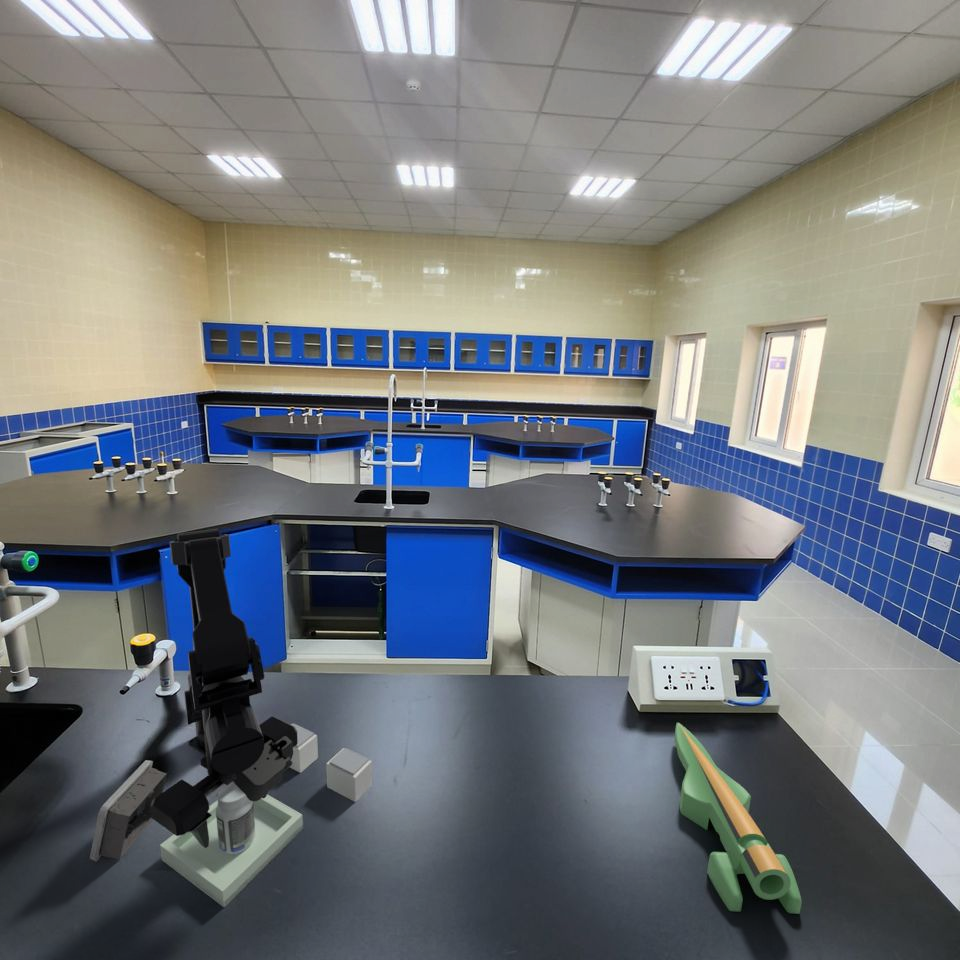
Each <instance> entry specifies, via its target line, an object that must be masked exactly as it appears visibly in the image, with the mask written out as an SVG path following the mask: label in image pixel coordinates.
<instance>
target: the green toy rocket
mask: <svg viewBox="0 0 960 960" xmlns="http://www.w3.org/2000/svg"><path fill="white" fill-rule="evenodd" d="M674 731H675V732H674V745H675V746H674V747H675V748H676V750H677V756H678V758H679V760H680V762H681V764H682V766H683V768H684V770H685V775H684V778H683V780H682V784H681V791H680V798H679V812H680V815H683V816H684V817H685V818H688V819H689V820H690V821H692V822H693V823H695V824H697V825H698V826H700V827H701V828H703V829H704V830H705V831H707V830H708V829H709V828H708V827H709V820H710V821H711V824H712V826H713V828H714V830H715V832H716V833H717V834H718V835H719V840H720V842H721V844H722V846H723V848H724V850H725V851H726V852H725V851H712V852H711V853H710V854H709V858H708V859H709V860H708V864H707V871H706V872H707V875H708V877H709V879H710V881H711V883H712V886H713V887H714V889H715V890H716V892H717V893H718V895H719V897H720V898H721V900H722V902H723V904H724V905H725V906H726V908H727V909H728V911H729V912H741V911H742V907H743V901H744V900H743V899H744V898H743V893H742V890H741V886H740V883H739V879H738V875H739V874H742V875H743V874H745V877H746V879H747V881H748V882H749V884H750V886H751V888H752V890H753V892H754V894H755V895H756V896H758V898H761V899H763V900H779V902H780V903H781V905H782V907H783V908H784V910H785V911H786V912H787V913H788V914H796V915H797V914H799V915H800V912H801V907H802V904H803V903H802V901H803V900H802V897H801V893H800V889H799V886H798V883H797V880H796V877H795V875H794V872H793V869H792V867H791V865H790V863H789V861H788V859H787V858H786V856H785V855H784V854H781V853H779V854H778V853H775V851H774V850H773V849H772V847H771V846H770V844H769V842H768V840H767V838H766V837H765V836H764V834H763V833H762V831H761V829H760V828H759V827H758V825H757V823H756V822H755V821H754V819H753V818H752V816H751V815H750V813H749V811H750V806H751V800H752V796H751V794H750V793H749V792H748V791H747V789H746V788H744V787H743V786H742V785H741V784H740V783H738V782H737V781H735V780H734V779H732V778H731V777H730V776H728V774H726V773H725V772H724V771H723V770H721V768H719V767H718V766H717V765H716V763H715V762H714V760H713V758H712V757H711V755H710V753H708V751H707V749H706V748H705V746H704V745H703V744H702V743H701V742H700V741H699V740H698V738H697V737H696V736H695V735H694V734H693V733H692V732H691V731H690V730H688V729H687V728H686V727H685V726H683V724H681V723H680V722H676V724H675V730H674Z"/></svg>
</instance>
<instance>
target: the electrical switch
mask: <svg viewBox="0 0 960 960" xmlns="http://www.w3.org/2000/svg"><path fill="white" fill-rule="evenodd" d="M153 762H154V761H153V760H147V759H146V760H144V761H143V763H141V764H140V765H139V767H137V769H135V771H134V772H132V774H131V775H130V776H129V777H128V778H127V779H126V780H125V781H124V782H123V783H122V785H120V786H119V788H118V789H117V790H116V791H114V793H113V794H111V796H110V797H109V798H108V799H107V800H106V801H105V802H104V803H103V805H101V807H100V809H99V811H98V813H97V819H96V824H95V827H94V828H95V829H94V834H93V839H92V843H91V844H92V845H91V850H90V855H89V859H90V860H92V861H94V862H98V861H99V860H100V859H101V858H102V856H103V857H105V858H112V859H115V860H118V861H120V860H121V859H122V858H123V857H124V855H125V854H126V853H127V852H128V851H129V849H130V848H131V847H132V845H133V844H134V843H135V842H136V841H137V839H138V838H139V837H140V836H141V834H142V833H144V831H145V830H146V829H147V827H148V826H149V825H150V823H152V821H153V820H154V819H152V817H151V809H150V807H151V803H152V800H153V799H154V798H156V797H157V796H158V795H160V794H161V793H163V792H164V788H165V783H166V778H167V775H168V774H167V772H163V771H160V770H158V769H157V768H153ZM127 830H129V831H131V832H130V833H129V834H128V833H127Z"/></svg>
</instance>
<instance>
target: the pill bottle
mask: <svg viewBox="0 0 960 960" xmlns="http://www.w3.org/2000/svg"><path fill="white" fill-rule="evenodd" d="M217 800H218V805H217V807H216V819H217V829H218V840H219V848H220V850H221V851H222V852H223V853H225V854H237V853H240V852H242V851H244V850H245V849H247V848H248V847H249V846H250V845H251V844H252V842H253V840H254V838H255V820H254V805H253V801H251V800H249V799H248V798H247V796H246V795H245V794H244V793H243V792H242V791H241V790H240V789H239V788H238V786H237V785H236V784H235V783H234V782H233V781H232V782H231V783H230V784H229V785H224V786H223V787H221V788H220V789H219V791H218V792H217Z"/></svg>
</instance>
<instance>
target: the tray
mask: <svg viewBox="0 0 960 960" xmlns="http://www.w3.org/2000/svg"><path fill="white" fill-rule="evenodd" d="M217 805H218V799H216V801H214V802H213V803H212V804H211V805H210V804H209V810H208V813H210V814H211V815H212V816H211V817H210V818H208V819H207V826H208V834H209V846H208V847H207V848H204V847H203V846H202V845H201V844H200V843H199V842H198V840H197V839H196V838H195V837H194V835H193V834H192V833H191V832H187V833H185V834H184V835H179V836H176V835H175V834H173V833H172V835H171V836H170V837H168V838H167V839H166V840H165V841H163V842H162V843H161V844H160V845H159V847H160V848H159V849H160V857H161V861H162V862H164V863H165V864H167V866H169V867H170V868H171V869H173V870H174V871H175V872H177V873H178V874H179V875H180V876H182V877H183V878H184V879H186V880H187V881H188V882H190V883H191V884H193V885H194V886H195V887H197V888H198V889H199V890H201V892H203V893H204V894H205V895H207V896H209V898H211V899H212V900H214V902H216V903H217V904H219V905H220V906H221V907H223V908H226V907H227V906H228V904H230V902H232V900H234V898H236V897H237V896H238V895H239V894H240V893H241V891H242V890H243V889H245V887H247V886H248V885H249V883H250V882H252V881H253V879H255V878H256V876H257V875H259V873H261V872H262V870H263V869H265V868H266V866H268V864H270V863H271V861H273V859H275V857H277V856H278V855H279V854H280V853H281V852H282V851H283V849H285V848H286V846H287V845H288V844H289V843H291V841H292V840H294V839H295V837H297V836H298V835H299V834H300V833H301V832H302V831H303V830H304V820H303V814H302V813H300V812H298V811H297V810H295V809H293V808H292V807H290V806H288V805H287V804H285V803H283V802H281V801H280V800H277V799H276V798H274V797H272V796H271V795H269V794H267V796H266V797H265V798H264V799H263V798H261V799H260V800H258V801H253V805H254V820H255V838H254V840H253V842H252V844H251V845H250V846H249V847H248V848H247V849H245V850H244V851H242V852H240V853H237V854H225V853H223V852H222V851H221V850H220V848H219V840H218V829H217V819H216V807H217Z"/></svg>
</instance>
